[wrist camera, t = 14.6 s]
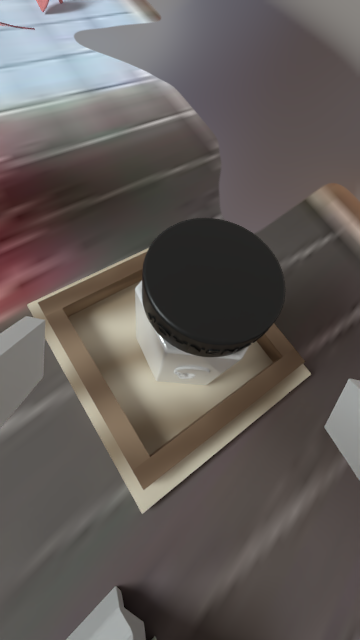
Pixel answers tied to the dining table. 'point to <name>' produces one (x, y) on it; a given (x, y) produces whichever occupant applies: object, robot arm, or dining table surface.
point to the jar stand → (154, 383)
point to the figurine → (42, 3)
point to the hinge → (110, 622)
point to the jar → (205, 299)
